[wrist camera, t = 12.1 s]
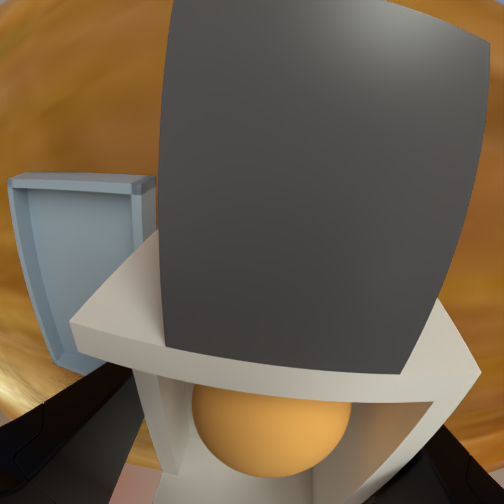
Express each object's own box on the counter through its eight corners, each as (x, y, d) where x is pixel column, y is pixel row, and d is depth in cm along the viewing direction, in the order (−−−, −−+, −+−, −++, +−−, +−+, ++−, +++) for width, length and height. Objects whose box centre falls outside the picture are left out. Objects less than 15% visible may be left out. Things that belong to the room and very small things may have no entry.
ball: (306, 466, 7) (355, 505, 4) (183, 441, 7) (160, 474, 4) (333, 354, 9) (393, 332, 5) (216, 325, 9) (214, 287, 5)
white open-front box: (322, 448, 11) (323, 531, 7) (180, 428, 11) (154, 509, 8) (442, 94, 5) (571, 98, 2) (173, 53, 6) (53, 10, 2)
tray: (168, 382, 24) (161, 399, 23) (64, 350, 25) (54, 364, 23) (155, 176, 17) (140, 184, 15) (24, 172, 18) (6, 179, 16)
